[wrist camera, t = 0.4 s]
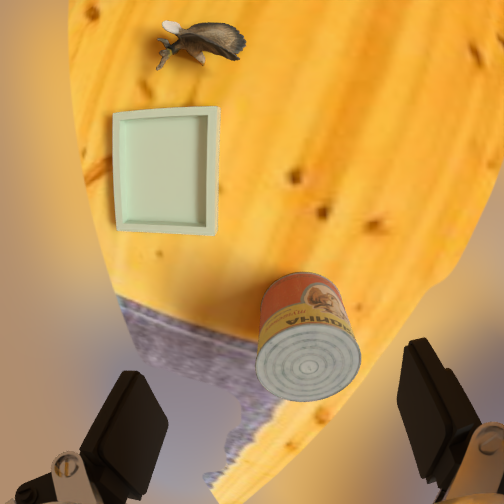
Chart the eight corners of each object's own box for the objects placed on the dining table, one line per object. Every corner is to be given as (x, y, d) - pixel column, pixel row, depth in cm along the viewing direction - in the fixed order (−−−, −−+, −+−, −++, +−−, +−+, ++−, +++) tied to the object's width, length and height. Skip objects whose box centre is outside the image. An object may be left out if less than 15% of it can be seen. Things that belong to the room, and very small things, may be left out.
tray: (121, 113, 34) (112, 113, 32) (220, 108, 33) (217, 106, 31) (124, 225, 39) (116, 230, 37) (217, 230, 38) (214, 235, 36)
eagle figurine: (171, 91, 32) (245, 76, 29) (141, 52, 25) (223, 29, 22) (183, 50, 33) (250, 36, 31) (159, 13, 26) (232, -7, 24)
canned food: (357, 292, 40) (381, 346, 29) (315, 351, 44) (324, 411, 33) (284, 258, 39) (287, 306, 28) (247, 324, 43) (238, 383, 32)
